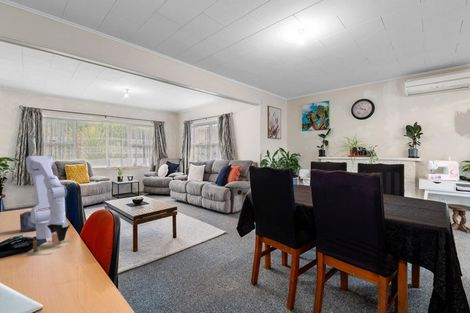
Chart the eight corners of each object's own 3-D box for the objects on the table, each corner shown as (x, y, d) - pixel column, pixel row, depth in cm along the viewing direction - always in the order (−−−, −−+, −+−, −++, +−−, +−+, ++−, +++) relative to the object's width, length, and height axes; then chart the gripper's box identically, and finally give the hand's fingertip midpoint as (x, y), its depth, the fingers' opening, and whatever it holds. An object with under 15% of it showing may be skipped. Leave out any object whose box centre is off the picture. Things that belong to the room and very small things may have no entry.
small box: (19, 232, 127) (18, 214, 126) (26, 228, 133) (26, 211, 133) (41, 230, 130) (40, 212, 129) (47, 226, 136) (47, 209, 136)
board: (48, 243, 111) (48, 230, 111) (73, 241, 112) (73, 229, 112) (20, 258, 95) (19, 244, 95) (50, 257, 96) (49, 243, 96)
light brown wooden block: (50, 241, 106) (50, 233, 106) (62, 237, 111) (62, 229, 111) (55, 243, 104) (54, 235, 104) (67, 239, 108) (67, 231, 108)
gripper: (40, 211, 107) (42, 239, 107) (54, 216, 100) (56, 245, 100) (58, 208, 113) (59, 234, 114) (72, 211, 106) (73, 239, 106)
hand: (58, 239), depth 107 cm, fingers closed on light brown wooden block, 5 cm apart
